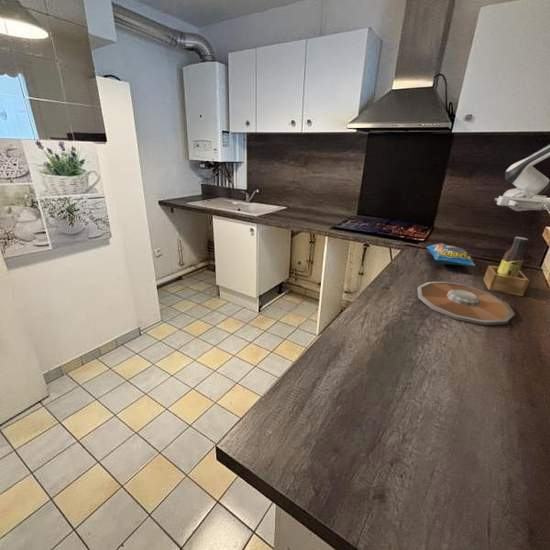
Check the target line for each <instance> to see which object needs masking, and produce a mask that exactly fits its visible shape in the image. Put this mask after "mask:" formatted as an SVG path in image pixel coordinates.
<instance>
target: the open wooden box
mask: <svg viewBox="0 0 550 550" xmlns="http://www.w3.org/2000/svg"><path fill="white" fill-rule="evenodd" d="M498 268H499V266H494V265H488V266H487V269H486V271H485V274H484V277H483V282H484V284H485V285H486V288H487V289H488V290H489V291H493V292H499V293H503V294H509V295H513V296H518V297H519V296H520V297H523V296H524V294H525V292H526V290H527V287H528V285H529V282H530V279H529V278H528V277H527V276H526V275H525V274H524V273H523V272H522V270H520V269H519V271H518V274H517V276H516V277H510V276H504V275H498V274H496V273H497V271H498Z"/></svg>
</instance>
